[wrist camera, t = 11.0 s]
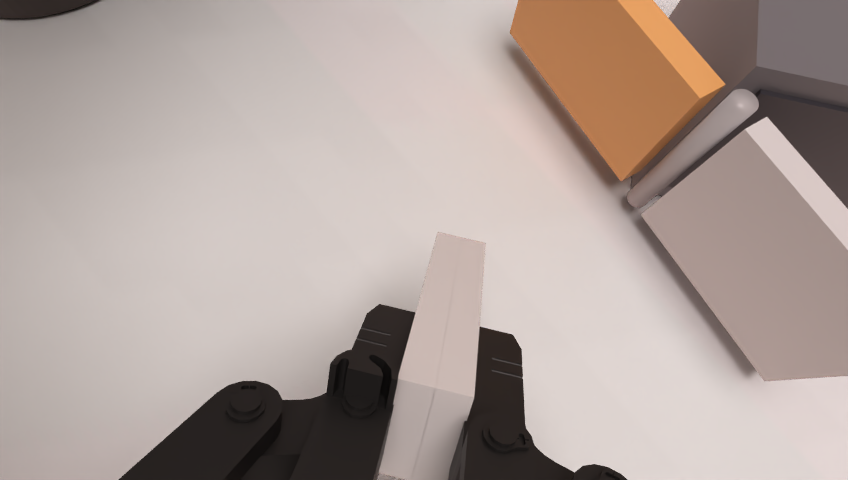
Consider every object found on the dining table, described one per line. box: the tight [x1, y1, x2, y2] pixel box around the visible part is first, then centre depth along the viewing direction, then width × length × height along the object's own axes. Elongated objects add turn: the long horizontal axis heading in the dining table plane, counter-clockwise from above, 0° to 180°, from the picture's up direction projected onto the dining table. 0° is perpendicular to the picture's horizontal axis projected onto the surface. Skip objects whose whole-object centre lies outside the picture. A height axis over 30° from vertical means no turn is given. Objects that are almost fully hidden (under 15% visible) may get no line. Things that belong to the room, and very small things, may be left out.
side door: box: [510, 0, 848, 381], centre depth 21 cm, size 21×1×8 cm, turn 30°
